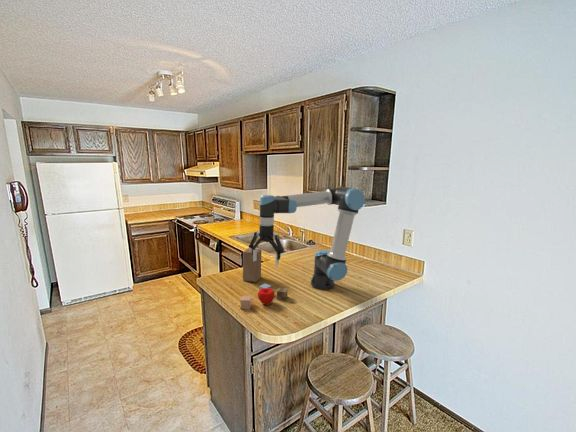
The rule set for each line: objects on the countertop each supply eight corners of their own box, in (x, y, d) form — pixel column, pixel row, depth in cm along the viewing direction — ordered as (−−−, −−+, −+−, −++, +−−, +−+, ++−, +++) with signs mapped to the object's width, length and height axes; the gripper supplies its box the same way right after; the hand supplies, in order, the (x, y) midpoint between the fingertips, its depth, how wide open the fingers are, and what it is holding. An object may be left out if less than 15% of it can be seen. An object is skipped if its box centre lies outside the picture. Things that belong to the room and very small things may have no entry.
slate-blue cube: (271, 293, 163) (271, 285, 162) (265, 296, 159) (265, 288, 158) (264, 291, 166) (265, 283, 165) (259, 294, 162) (259, 286, 161)
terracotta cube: (251, 304, 150) (251, 295, 149) (250, 309, 145) (250, 300, 144) (241, 304, 149) (241, 295, 149) (240, 308, 145) (240, 300, 144)
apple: (255, 305, 149) (255, 291, 147) (262, 298, 157) (262, 285, 155) (270, 308, 146) (270, 295, 144) (276, 301, 154) (277, 288, 152)
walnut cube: (287, 296, 160) (287, 288, 159) (285, 300, 155) (285, 292, 154) (278, 295, 161) (279, 287, 160) (276, 299, 156) (276, 291, 156)
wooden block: (256, 282, 177) (257, 253, 174) (242, 281, 179) (242, 251, 176) (261, 276, 187) (261, 248, 183) (247, 275, 189) (247, 247, 185)
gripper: (291, 226, 143) (289, 264, 147) (250, 220, 153) (249, 257, 157) (285, 228, 136) (283, 269, 140) (242, 223, 146) (242, 260, 150)
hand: (265, 262), depth 148 cm, fingers open, 13 cm apart
